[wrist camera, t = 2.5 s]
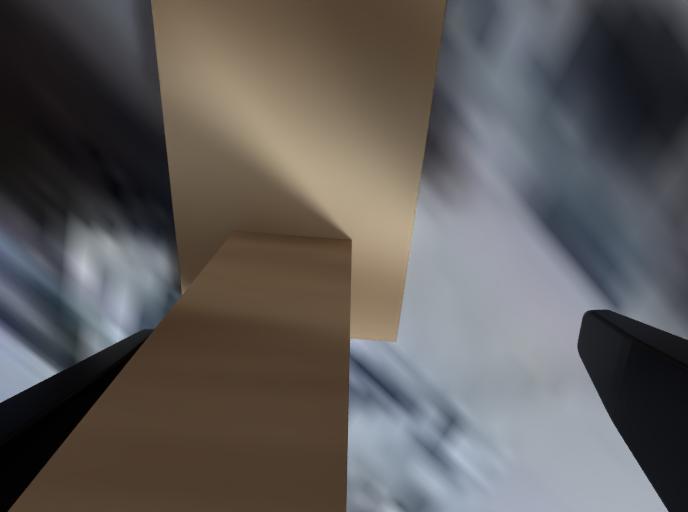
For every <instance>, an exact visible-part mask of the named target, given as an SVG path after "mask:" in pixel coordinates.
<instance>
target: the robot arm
mask: <svg viewBox="0 0 688 512" xmlns="http://www.w3.org/2000/svg"><path fill="white" fill-rule="evenodd" d="M154 330H155V329H143V330H141V331H139V332H137V333H135V334H133V335H131V336H129V337H127V338H125V339H123V340H121V341H119V342H118V343H116V344H114V345H112V346H110V347H108V348H106V349H104V350H102V351H100V352H98V353H96V354H94V355H92V356H90V357H88V358H87V359H85V360H83V361H81V362H79V363H77V364H75V365H73V366H71V367H69V368H67V369H65V370H63V371H61V372H59V373H57V374H56V375H54V376H52V377H50V378H48V379H46V380H44V381H42V382H40V383H38V384H36V385H34V386H32V387H30V388H28V389H26V390H25V391H23V392H21V393H19V394H17V395H15V396H13V397H11V398H9V399H7V400H5V401H3V402H1V403H0V512H8V511H9V510H10V508H11V507H12V506H13V505H14V503H15V502H16V501H17V500H18V498H19V497H20V496H21V495H22V493H23V492H24V491H25V490H26V488H27V487H28V486H29V485H30V483H31V482H32V481H33V480H34V478H35V477H36V476H37V475H38V474H39V472H40V471H41V470H42V469H43V467H44V466H45V465H46V464H47V462H48V461H49V460H50V459H51V457H52V456H53V455H54V454H55V452H56V451H57V450H58V449H59V447H60V446H61V445H62V444H63V442H64V441H65V440H66V439H67V438H68V436H69V435H70V434H71V433H72V431H73V430H74V429H75V428H76V426H77V425H78V424H79V423H80V421H81V420H82V419H83V418H84V416H85V415H86V414H87V413H88V411H89V410H90V409H91V408H92V406H93V405H94V404H95V403H96V402H97V400H98V399H99V398H100V397H101V395H102V394H103V393H104V392H105V390H106V389H107V388H108V387H109V385H110V384H111V383H112V382H113V380H114V379H115V378H116V377H117V375H118V374H119V373H120V372H121V370H122V369H123V368H124V367H125V366H126V364H127V363H128V362H129V361H130V359H131V358H132V357H133V356H134V354H135V353H136V352H137V351H138V349H139V348H140V347H141V346H142V344H143V343H144V342H145V341H146V339H147V338H148V337H149V336H150V334H151V333H152V332H153V331H154ZM578 352H579V355H580V357H581V360H582V362H583V364H584V366H585V368H586V370H587V372H588V374H589V376H590V378H591V380H592V382H593V384H594V386H595V388H596V390H597V392H598V394H599V396H600V398H601V400H602V402H603V404H604V407H605V409H606V410H607V412H608V414H609V416H610V418H611V420H612V422H613V423H614V425H615V427H616V428H617V430H618V432H619V433H620V435H621V436H622V438H623V440H624V441H625V443H626V444H627V446H628V448H629V449H630V451H631V452H632V454H633V456H634V457H635V459H636V460H637V462H638V464H639V465H640V467H641V468H642V470H643V472H644V473H645V475H646V476H647V478H648V480H649V481H650V483H651V484H652V486H653V488H654V489H655V491H656V492H657V494H658V496H659V497H660V499H661V500H662V502H663V504H664V505H665V507H666V508H667V510H668V511H669V512H688V340H686V339H684V338H681V337H678V336H676V335H673V334H671V333H668V332H665V331H663V330H660V329H657V328H655V327H652V326H650V325H647V324H644V323H642V322H639V321H636V320H634V319H631V318H629V317H626V316H623V315H621V314H618V313H616V312H613V311H610V310H589V311H587V312H585V314H584V315H583V318H582V323H581V328H580V333H579V338H578Z"/></svg>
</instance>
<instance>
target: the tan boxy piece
mask: <svg viewBox="0 0 688 512" xmlns="http://www.w3.org/2000/svg"><path fill="white" fill-rule="evenodd" d="M446 3H447V0H151V6H152V16H153V25H154V35H155V44H156V53H157V63H158V72H159V82H160V91H161V101H162V110H163V120H164V129H165V139H166V148H167V157H168V167H169V176H170V186H171V195H172V205H173V214H174V224H175V233H176V242H177V252H178V261H179V271H180V280H181V290H182V296H181V297H180V298H179V300H178V301H177V302H176V303H175V305H174V306H173V307H172V308H171V310H170V311H169V312H168V313H167V315H166V316H165V317H164V318H163V320H162V321H161V322H160V323H159V325H158V326H157V327H156V328H155V330H154V331H153V332H152V333H151V334H150V336H149V337H148V338H147V339H146V341H145V342H144V343H143V344H142V346H141V347H140V348H139V349H138V351H137V352H136V353H135V354H134V356H133V357H132V358H131V359H130V361H129V362H128V363H127V364H126V366H125V367H124V368H123V369H122V370H121V372H120V373H119V374H118V375H117V377H116V378H115V379H114V380H113V382H112V383H111V384H110V385H109V387H108V388H107V389H106V390H105V392H104V393H103V394H102V395H101V397H100V398H99V399H98V400H97V402H96V403H95V404H94V405H93V406H92V408H91V409H90V410H89V411H88V413H87V414H86V415H85V416H84V418H83V419H82V420H81V421H80V423H79V424H78V425H77V426H76V428H75V429H74V430H73V431H72V433H71V434H70V435H69V436H68V438H67V439H66V440H65V441H64V442H63V444H62V445H61V446H60V447H59V449H58V450H57V451H56V452H55V454H54V455H53V456H52V457H51V459H50V460H49V461H48V462H47V464H46V465H45V466H44V467H43V469H42V470H41V471H40V472H39V474H38V475H37V476H36V477H35V478H34V480H33V481H32V482H31V483H30V485H29V486H28V487H27V488H26V490H25V491H24V492H23V493H22V495H21V496H20V497H19V498H18V500H17V501H16V502H15V503H14V505H13V506H12V507H11V508H10V510H9V511H8V512H346V497H347V450H348V403H349V356H350V338H352V339H365V340H379V341H392V342H396V341H397V335H398V328H399V321H400V314H401V308H402V301H403V294H404V287H405V281H406V274H407V267H408V260H409V253H410V247H411V240H412V233H413V226H414V220H415V213H416V206H417V199H418V193H419V186H420V179H421V172H422V166H423V159H424V152H425V145H426V139H427V132H428V125H429V118H430V112H431V105H432V98H433V91H434V84H435V78H436V71H437V64H438V57H439V51H440V44H441V37H442V30H443V24H444V17H445V10H446Z"/></svg>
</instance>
